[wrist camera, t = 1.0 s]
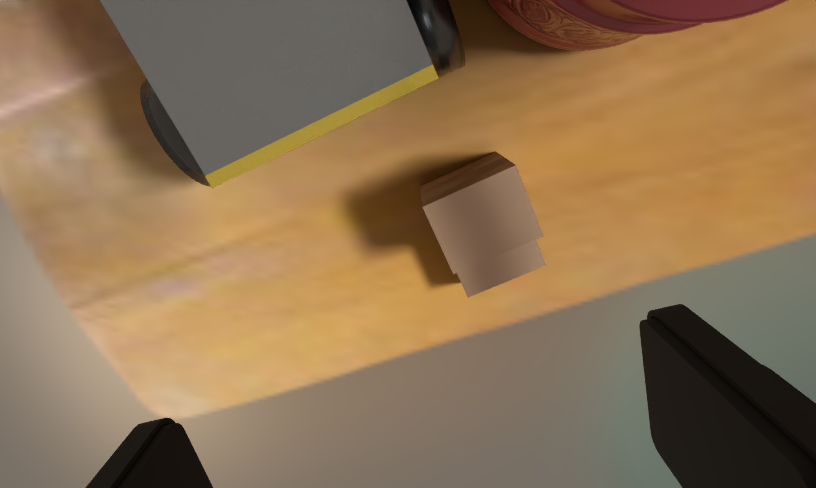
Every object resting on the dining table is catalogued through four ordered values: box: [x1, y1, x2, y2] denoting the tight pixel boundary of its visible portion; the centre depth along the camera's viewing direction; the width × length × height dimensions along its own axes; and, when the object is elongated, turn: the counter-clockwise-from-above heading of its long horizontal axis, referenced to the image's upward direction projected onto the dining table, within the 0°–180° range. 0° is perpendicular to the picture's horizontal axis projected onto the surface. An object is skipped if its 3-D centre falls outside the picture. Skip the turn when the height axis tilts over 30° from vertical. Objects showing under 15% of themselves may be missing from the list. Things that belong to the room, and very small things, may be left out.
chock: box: [420, 152, 546, 297], centre depth 26 cm, size 5×7×6 cm
